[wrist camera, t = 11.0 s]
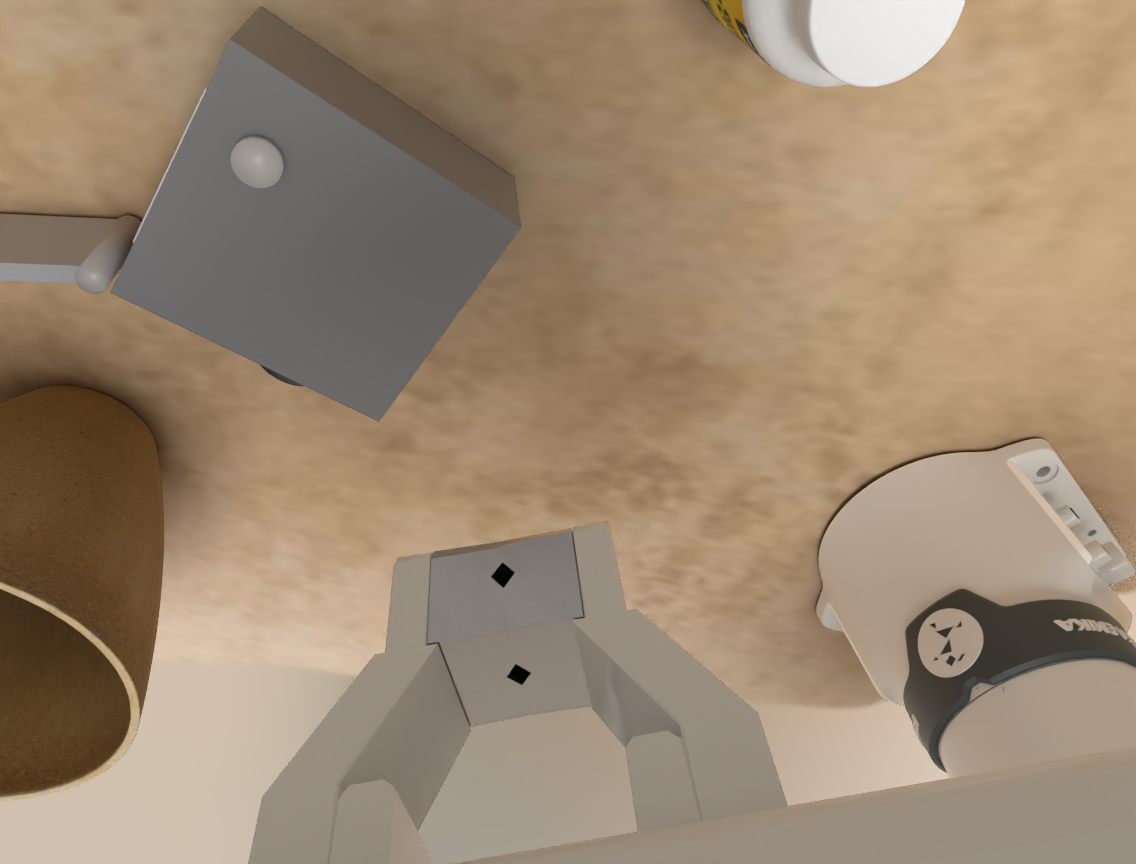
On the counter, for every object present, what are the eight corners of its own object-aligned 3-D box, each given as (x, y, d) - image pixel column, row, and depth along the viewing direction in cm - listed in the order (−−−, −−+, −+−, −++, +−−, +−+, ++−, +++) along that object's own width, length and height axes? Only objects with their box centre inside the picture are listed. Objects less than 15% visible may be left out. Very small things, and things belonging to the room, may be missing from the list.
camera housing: (514, 177, 38) (521, 232, 33) (377, 371, 43) (367, 442, 38) (257, 3, 32) (222, 40, 28) (139, 249, 38) (93, 315, 33)
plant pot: (263, 382, 43) (181, 628, 30) (188, 567, 50) (97, 827, 38) (-68, 265, 37) (-337, 505, 25) (-98, 491, 45) (-317, 765, 32)
